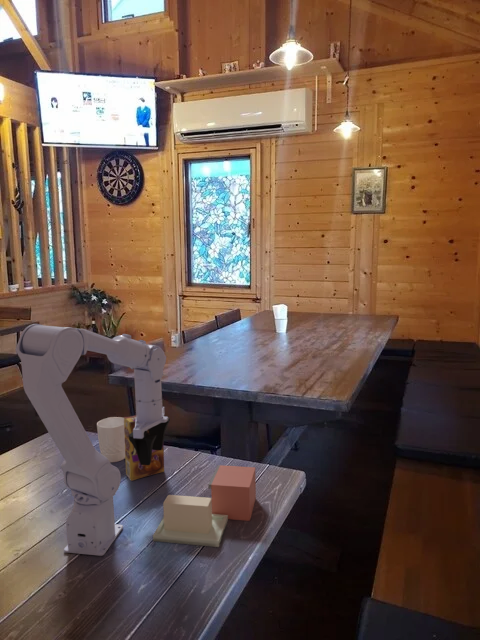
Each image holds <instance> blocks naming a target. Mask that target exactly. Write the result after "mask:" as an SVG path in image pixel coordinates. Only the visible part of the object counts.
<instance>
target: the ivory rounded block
mask: <svg viewBox="0 0 480 640" xmlns="http://www.w3.org/2000/svg"><path fill="white" fill-rule="evenodd" d="M162 507H163V517H164V530H169V531H180V532H192V533H203V534H209V531H210V529H211V526H212V497H204V496H193V495H191V496H190V495H177V494H168V495H166V498H165V500H164V501H163V503H162Z"/></svg>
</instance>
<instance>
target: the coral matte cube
mask: <svg viewBox="0 0 480 640" xmlns="http://www.w3.org/2000/svg"><path fill="white" fill-rule="evenodd" d="M256 477H257V476H256V467H255V466H254V467H252V466H240V465H239V466H237V465H235V466H234V465H222V464H221V465H220V464H217V466H216V467H215V470H214V472H213V474H212V476H211V479H210V481H209V482H208V485H207V486H208V487H207V488H208V489H210V491H211V492H210V493H211V494H210V495H211V501H212V514H220V515H228V520H235V521H247V522H250V521H251V518H252V515H253V510H254V507H255V503H256V498H257V496H256V495H257V494H256V493H257V492H256V490H257V488H256V483H257V482H256V481H257V480H256Z"/></svg>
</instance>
